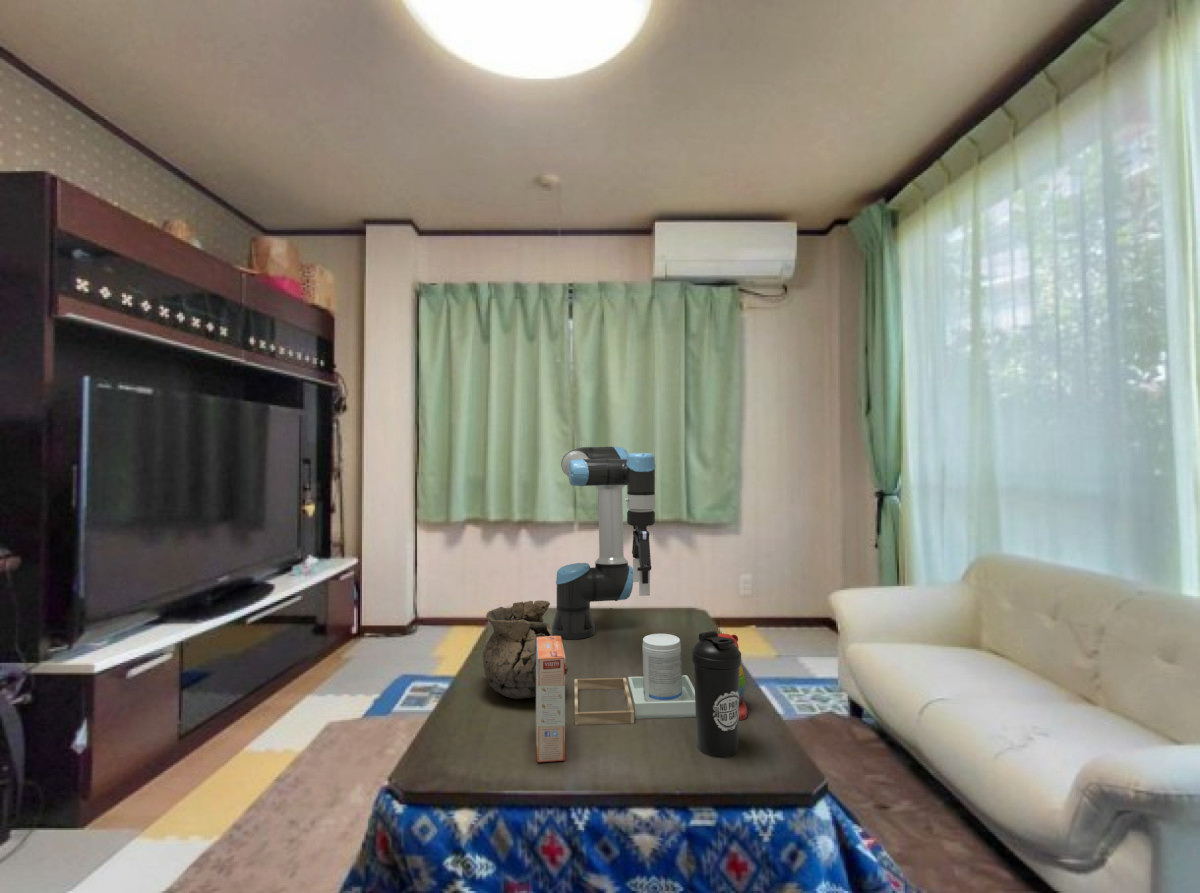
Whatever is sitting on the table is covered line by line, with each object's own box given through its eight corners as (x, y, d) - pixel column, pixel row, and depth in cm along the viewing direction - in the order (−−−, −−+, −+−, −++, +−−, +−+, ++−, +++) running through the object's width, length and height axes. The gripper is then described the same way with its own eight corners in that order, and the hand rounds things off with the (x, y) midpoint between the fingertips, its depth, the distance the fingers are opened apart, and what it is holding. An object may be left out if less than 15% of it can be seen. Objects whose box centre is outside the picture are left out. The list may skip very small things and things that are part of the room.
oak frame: (574, 688, 144) (574, 679, 144) (625, 687, 144) (625, 677, 144) (574, 725, 124) (574, 713, 124) (634, 723, 125) (634, 712, 125)
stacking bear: (698, 714, 129) (697, 638, 129) (706, 696, 138) (705, 626, 139) (745, 722, 125) (744, 643, 125) (750, 703, 134) (749, 630, 135)
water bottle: (711, 764, 108) (710, 647, 108) (683, 740, 117) (682, 632, 118) (752, 753, 112) (751, 640, 112) (722, 730, 121) (721, 626, 122)
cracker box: (566, 762, 109) (566, 656, 110) (536, 764, 108) (536, 658, 109) (562, 727, 123) (562, 634, 123) (535, 729, 122) (535, 635, 123)
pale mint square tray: (628, 690, 142) (628, 676, 142) (687, 688, 143) (687, 675, 143) (635, 718, 127) (634, 703, 127) (701, 716, 128) (701, 701, 128)
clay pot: (487, 673, 154) (487, 597, 155) (571, 672, 155) (570, 596, 155) (467, 715, 129) (466, 623, 130) (566, 713, 130) (566, 622, 130)
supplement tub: (690, 700, 134) (689, 640, 134) (660, 711, 129) (659, 648, 129) (664, 687, 142) (663, 630, 143) (635, 696, 137) (634, 637, 137)
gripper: (622, 504, 160) (622, 576, 160) (632, 516, 135) (632, 602, 135) (648, 504, 160) (648, 576, 161) (662, 516, 135) (662, 601, 136)
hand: (641, 588), depth 148 cm, fingers open, 13 cm apart
